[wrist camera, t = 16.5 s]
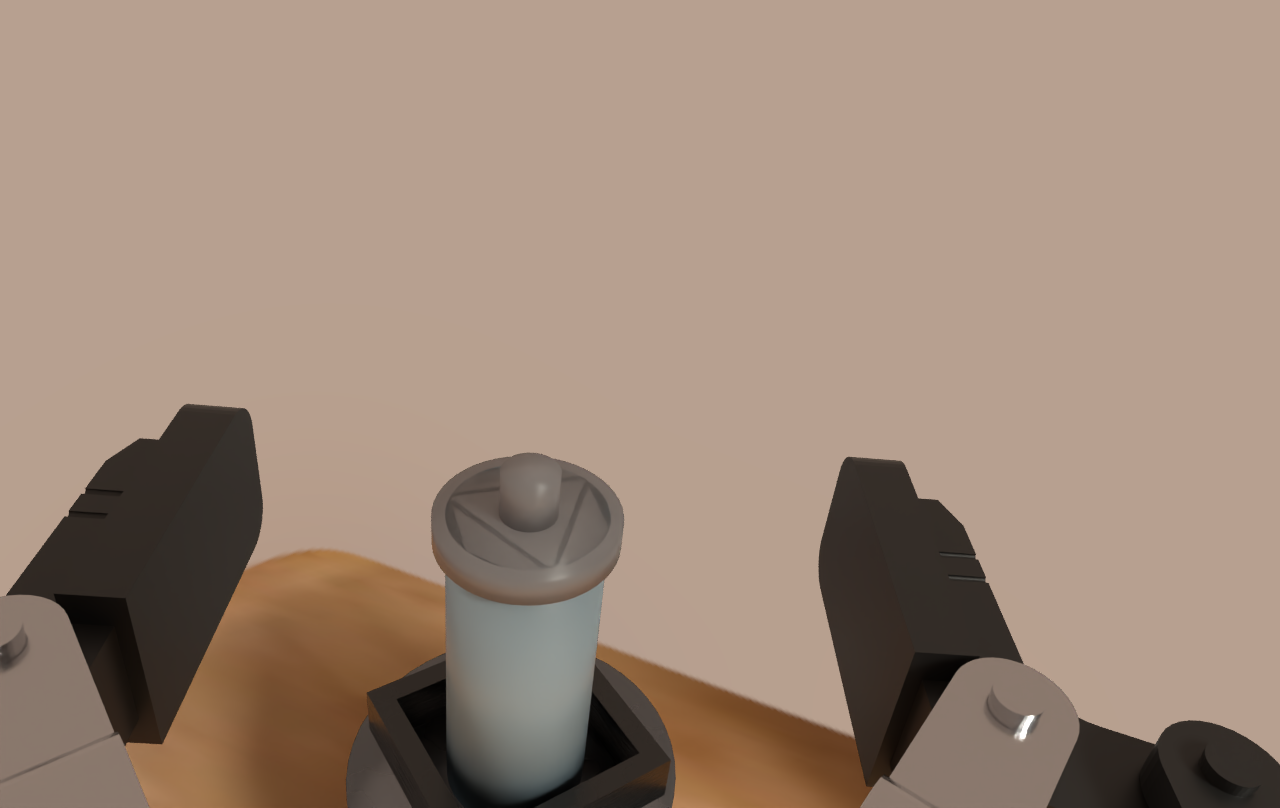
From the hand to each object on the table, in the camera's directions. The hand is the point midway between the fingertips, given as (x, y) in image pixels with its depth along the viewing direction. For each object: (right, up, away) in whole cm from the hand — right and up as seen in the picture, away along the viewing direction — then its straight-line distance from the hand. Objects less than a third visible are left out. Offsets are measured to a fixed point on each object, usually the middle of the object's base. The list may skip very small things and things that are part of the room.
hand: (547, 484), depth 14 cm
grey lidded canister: (-3, -12, +23) cm, 26 cm away
